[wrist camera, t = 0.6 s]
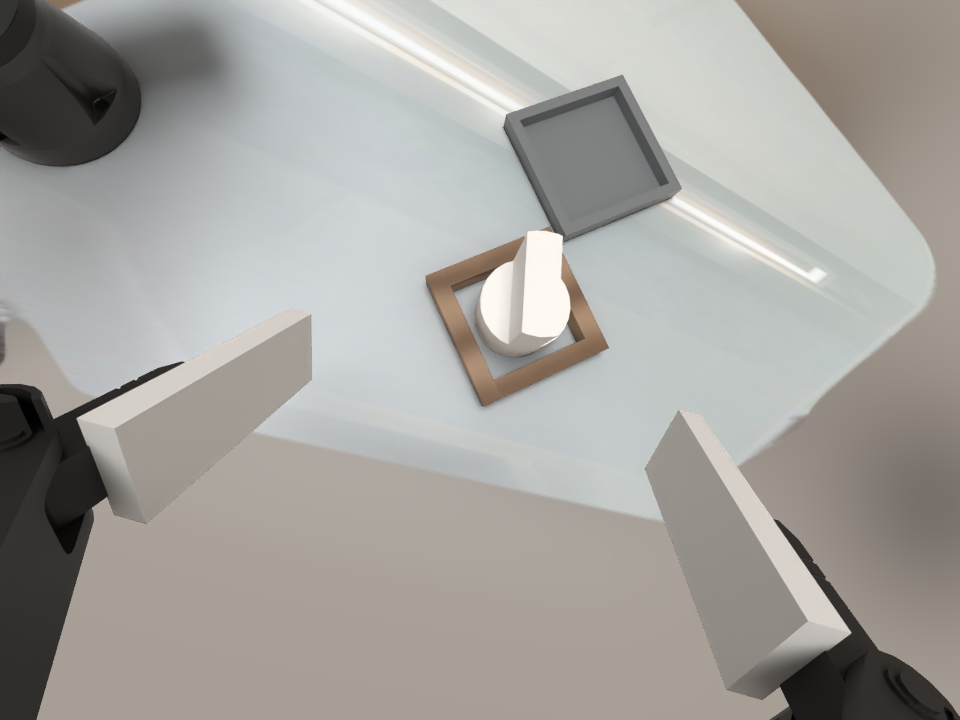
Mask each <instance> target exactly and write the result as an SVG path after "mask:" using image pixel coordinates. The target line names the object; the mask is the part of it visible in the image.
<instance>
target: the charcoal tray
mask: <svg viewBox="0 0 960 720" xmlns="http://www.w3.org/2000/svg"><path fill="white" fill-rule="evenodd" d="M504 129H505V131H506V134H507V136H508V138H509V140H510V142H511V144H512V146H513V148H514V150H515V152H516V154H517V156H518V158H519V160H520V162H521V164H522V166H523V168H524V170H525V172H526V175H527V177H528V179H529V181H530V183H531V185H532V187H533V189H534V191H535V193H536V195H537V197H538V199H539V201H540V203H541V205H542V207H543V209H544V211H545V213H546V215H547V218H548V220H549V222H550V224H551V226H552V228H553V230H554V232H555V233H556V234H560V235H562V236H563V242H565V241H567V240H570V239H572V238H575V237H577V236H580V235H582V234H584V233H587V232H589V231H592V230H594V229H597V228H599V227H602V226H604V225H606V224H609V223H611V222H614V221H616V220H619V219H621V218H624V217H626V216H628V215H631V214H633V213H636V212H638V211H641V210H643V209H646V208H648V207H651V206H653V205H655V204H658V203H660V202H663V201H665V200H668V199H670V198H672V197H673V196H674V195H675V194H676V193H677V192H679V191H680V190H681V189H682V188H681V186H680V184H679V182H678V180H677V178H676V176H675V174H674V172H673V170H672V168H671V166H670V165H669V163H668V161H667V159H666V157H665V155H664V153H663V151H662V149H661V147H660V145H659V143H658V141H657V140H656V138H655V136H654V134H653V132H652V130H651V128H650V126H649V124H648V122H647V120H646V118H645V117H644V115H643V113H642V111H641V109H640V107H639V105H638V103H637V101H636V99H635V97H634V95H633V94H632V92H631V90H630V88H629V86H628V84H627V82H626V80H625V78H624V76H623V75H621V76H618V77H615V78H612V79H609V80H606V81H603V82H600V83H597V84H594V85H591V86H588V87H585V88H582V89H579V90H576V91H574V92H571V93H568V94H565V95H562V96H559V97H556V98H553V99H550V100H547V101H544V102H541V103H538V104H535V105H532V106H529V107H527V108H524V109H521V110H518V111H515V112H512V113H509V114H506V118H505V123H504Z"/></svg>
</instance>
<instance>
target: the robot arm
mask: <svg viewBox="0 0 960 720" xmlns="http://www.w3.org/2000/svg"><path fill="white" fill-rule="evenodd" d="M139 109H140V91H139V86H138V83H137V80H136V78H135V76H134V74H133V72H132V71H131V69H130V68H129V67H128V65H127V64H126V63H125V62H124V61H123V60H122V59H121V58H120V56H119V55H118V54H117V53H116V52H115V51H114V50H113V49H112V48H111V47H110V46H109V45H108V44H107V43H106V42H105V41H104V40H103V39H102V38H100V37H99V36H98V35H97V34H95V33H94V32H92V31H91V30H89V29H88V28H86V27H85V26H83V25H82V24H81V23H79V22H78V21H76V20H75V19H73V18H72V17H70V16H69V15H67V14H66V13H64V12H63V11H62V10H60V9H59V8H57V7H56V6H54V5H53V4H51V3H50V2H48V1H47V0H0V146H1V147H3V148H4V149H6V150H8V151H10V152H11V153H13V154H15V155H17V156H19V157H21V158H23V159H25V160H28V161H31V162H35V163H39V164H44V165H55V166H64V165H73V164H79V163H83V162H87V161H90V160H93V159H95V158H98V157H100V156H102V155H104V154H105V153H107V152H109V151H110V150H112V149H113V148H115V147H116V146H117V145H118V144H119V143H120V142H122V141H123V139H124V138H125V137H126V136H127V135H128V134H129V132H130V131H131V129H132V128H133V126H134V124H135V122H136V119H137V117H138V113H139ZM311 380H312V347H311V314H310V313H306V312H302V311H298V310H294V309H289V310H287V311H285V312H283V313H281V314H279V315H277V316H275V317H273V318H271V319H269V320H267V321H265V322H263V323H261V324H259V325H257V326H255V327H254V328H252V329H250V330H248V331H246V332H244V333H242V334H240V335H238V336H236V337H234V338H232V339H230V340H228V341H226V342H224V343H222V344H220V345H218V346H216V347H214V348H212V349H211V350H209V351H207V352H205V353H203V354H201V355H199V356H197V357H195V358H193V359H191V360H189V361H187V362H179V363H175V364H171V365H168V366H164V367H160V368H157V369H155V370H153V371H151V372H149V373H147V374H145V375H143V376H141V377H139V378H138V379H137V380H133V381H131V382H129V383H127V384H125V385H123V386H121V388H120V389H114V390H112V391H110V392H108V393H106V394H104V395H102V396H100V397H98V398H96V399H94V400H92V401H90V402H88V403H86V404H84V405H82V406H80V407H78V408H76V409H74V410H72V411H70V412H68V413H65V414H64V415H62V416H59V417H57V418H55V419H53V417H52V415H51V412H50V410H49V408H48V405H47V403H46V401H45V398H44V396H43V394H42V392H41V391H40V390H38V389H37V388H35V387H33V386H28V385H22V384H1V385H0V720H36V719H37V716H38V712H39V709H40V705H41V702H42V698H43V695H44V691H45V688H46V684H47V681H48V677H49V674H50V671H51V667H52V664H53V660H54V656H55V653H56V650H57V646H58V643H59V639H60V636H61V632H62V629H63V625H64V622H65V618H66V615H67V612H68V608H69V604H70V601H71V597H72V594H73V591H74V587H75V584H76V580H77V577H78V573H79V570H80V566H81V563H82V560H83V556H84V553H85V549H86V546H87V542H88V539H89V535H90V532H91V528H92V525H93V521H94V515H93V510H92V507H93V506H95V505H96V504H98V503H99V502H100V501H102V500H103V499H104V498H106V497H107V498H108V500H109V503H110V505H111V508H112V510H113V513H114V515H117V516H120V517H124V518H127V519H131V520H134V521H137V522H141V523H144V524H146V523H148V522H149V521H150V520H151V519H152V518H153V517H155V516H156V515H157V514H158V513H159V512H160V511H161V510H163V509H164V508H165V507H166V506H167V505H168V504H169V503H171V502H172V501H173V500H174V499H175V498H176V497H178V496H179V495H180V494H181V493H182V492H183V491H184V490H186V489H187V488H188V487H189V486H190V485H191V484H192V483H194V482H195V481H196V480H197V479H198V478H199V477H200V476H202V475H203V474H204V473H205V472H206V471H207V470H209V469H210V468H211V467H212V466H213V465H214V464H215V463H216V462H218V461H219V460H220V459H221V458H222V457H223V456H225V454H227V453H228V452H229V451H230V450H231V449H233V448H234V447H235V446H236V445H237V444H238V443H240V442H241V441H242V440H243V439H244V438H245V437H246V436H247V435H249V434H250V433H251V432H252V431H253V430H254V429H256V428H257V427H258V426H259V425H260V424H261V423H262V422H264V421H265V420H266V419H267V418H268V417H269V416H270V415H272V414H273V413H274V412H275V411H276V410H277V409H279V408H280V407H281V406H282V405H283V404H284V403H285V402H287V401H288V400H289V399H290V398H291V397H292V396H293V395H295V394H296V393H297V392H298V391H299V390H300V389H301V388H303V387H304V386H305V385H306V384H307V383H308V382H309V381H311ZM645 470H646V473H647V476H648V478H649V481H650V484H651V487H652V489H653V492H654V495H655V497H656V500H657V503H658V506H659V508H660V511H661V514H662V517H663V519H664V522H665V524H666V527H667V530H668V533H669V536H670V538H671V541H672V544H673V546H674V549H675V552H676V555H677V557H678V560H679V563H680V565H681V568H682V571H683V573H684V576H685V579H686V582H687V584H688V587H689V590H690V592H691V595H692V598H693V600H694V603H695V606H696V609H697V612H698V614H699V617H700V620H701V622H702V625H703V628H704V630H705V633H706V636H707V638H708V641H709V644H710V647H711V649H712V652H713V655H714V658H715V660H716V663H717V666H718V669H719V671H720V674H721V677H722V679H723V682H724V685H725V688H726V690H729V691H732V692H736V693H740V694H743V695H747V696H750V697H753V698H757V699H761V700H763V699H764V698H766V697H767V696H768V695H769V694H771V693H772V692H773V691H775V690H776V689H777V688H779V687H781V689H782V692H783V693H784V696H785V698H786V700H787V702H788V704H789V707H788V708H786V709H785V710H783V711H782V712H780V713H779V714H777V715H776V716H774V717H773V718H772V719H770V720H960V717H959V715H958V714H957V713H956V711H955V710H954V708H953V707H952V705H951V704H950V703H949V701H948V700H947V699H946V698H945V697H944V696H943V695H942V694H941V693H940V692H939V691H938V690H937V689H936V688H935V687H934V686H933V685H932V684H931V683H930V682H929V681H928V680H927V679H925V678H924V677H923V676H922V675H921V674H919V673H918V672H917V671H916V670H914V669H913V668H912V667H910V666H909V665H907V664H906V663H904V662H902V661H901V660H899V659H898V658H896V657H894V656H892V655H890V654H887V653H884V652H882V651H879V650H878V649H877V647H876V646H875V644H874V643H873V642H872V640H871V639H870V638H869V636H868V635H867V634H866V632H865V631H864V629H863V628H862V627H861V625H860V624H859V622H858V621H857V620H856V618H855V617H854V616H853V614H852V613H851V612H850V610H849V609H848V607H847V606H846V604H845V603H844V602H843V600H842V599H841V598H840V597H839V595H838V593H837V592H836V591H835V589H834V588H833V586H832V585H831V584H830V582H828V581H826V580H825V578H826V577H825V576H824V574H823V573H822V571H821V570H820V569H819V567H818V566H817V565H816V564H814V563H813V559H812V557H811V556H810V555H809V553H808V552H807V551H806V549H805V548H804V546H803V545H802V544H801V542H800V541H799V540H798V539H797V538H796V537H795V536H794V535H793V534H792V533H791V532H790V531H789V530H788V529H787V528H786V527H785V526H784V525H783V524H782V523H780V521H778V520H774V519H772V517H771V516H770V514H769V513H768V512H767V510H766V509H765V507H764V506H763V504H762V503H761V501H760V500H759V498H758V497H757V496H756V494H755V493H754V491H753V490H752V489H751V487H750V485H749V484H748V483H747V481H746V480H745V478H744V477H743V475H742V474H741V473H740V471H739V470H738V468H737V467H736V465H735V464H734V462H733V461H732V459H731V458H730V457H729V455H728V454H727V452H726V451H725V449H724V448H723V446H722V445H721V444H720V442H719V441H718V439H717V438H716V436H715V435H714V433H713V432H712V430H711V429H710V428H709V426H708V425H707V423H706V422H705V420H704V419H703V417H702V416H701V415H697V414H693V413H689V412H686V411H682V410H678V412H677V414H676V416H675V417H674V419H673V421H672V423H671V424H670V426H669V428H668V429H667V431H666V433H665V435H664V436H663V438H662V440H661V441H660V443H659V445H658V447H657V448H656V450H655V452H654V453H653V455H652V457H651V459H650V460H649V462H648V464H647V466H646V467H645Z"/></svg>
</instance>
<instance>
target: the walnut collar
mask: <svg viewBox="0 0 960 720" xmlns="http://www.w3.org/2000/svg"><path fill="white" fill-rule="evenodd" d="M540 231H548V232H552V230H551V228H550V227H547V228H545V229H542V230H540ZM552 233H553V232H552ZM524 238H525V236H524V237H522V238H519V239H517V240H514V241H512V242H509V243H507V244H504V245H502V246H499V247H497V248H494V249H492V250H489V251H487V252H484V253H482V254H479V255H477V256H474V257H472V258H469V259H467V260H464V261H462V262H459V263H457V264H454V265H452V266H449V267H447V268H444V269H442V270H439V271H437V272H434V273H432V274H429V275H427V276H426V284H427V286H428V288H429V291H430V293H431V295H432V297H433V299H434V302H435V304H436V306H437V308H438V310H439V313H440V315H441V317H442V319H443V321H444V324H445V326H446V328H447V330H448V332H449V335H450V337H451V339H452V341H453V343H454V346H455V348H456V350H457V352H458V354H459V357H460V359H461V361H462V363H463V365H464V368H465V370H466V372H467V374H468V376H469V379H470V381H471V383H472V385H473V387H474V390H475V392H476V394H477V396H478V398H479V401H480V403H481V405H482V406H486V405H488V404H490V403H492V402H494V401H497V400H499V399H501V398H503V397H505V396H507V395H509V394H512V393H514V392H516V391H518V390H520V389H522V388H524V387H527V386H529V385H531V384H533V383H535V382H537V381H539V380H542V379H544V378H546V377H548V376H550V375H552V374H554V373H557V372H559V371H561V370H563V369H565V368H567V367H569V366H572V365H574V364H576V363H578V362H580V361H582V360H584V359H586V358H589V357H591V356H593V355H595V354H597V353H599V352H601V351H604V350H606V349H608V348H609V347H608V345H607V343H606V341H605V338H604V336H603V334H602V332H601V330H600V328H599V326H598V324H597V322H596V320H595V318H594V316H593V314H592V312H591V310H590V308H589V306H588V304H587V302H586V300H585V297H584V295H583V293H582V291H581V289H580V287H579V285H578V283H577V281H576V279H575V277H574V275H573V273H572V271H571V269H570V267H569V265H568V263H567V261H566V259H565V256H564V254H563V252H562V267H561V279H562V281H563V282H564V284H565V285H566V288H567V291H568V294H569V296H570V307H571V308H570V314H569V320H568V322H567V323H568V325H569V328H570V330H571V332H572V334H573V336H574V338H575V340H576V342H577V343H574V344H572V345H570V346H568V347H566V348H564V349H561V350H559V351H557V352H555V353H553V354H550V355H548V356H546V357H544V358H542V359H540V360H537V361H535V362H533V363H531V364H529V365H526V366H524V367H522V368H520V369H518V370H515V371H513V372H511V373H509V374H507V375H505V376H502V377H500V378H498V379H496V380H494V379H493V377H492V375H491V373H490V371H489V368H488V366H487V364H486V362H485V360H484V358H483V355H482V353H481V351H480V349H479V347H478V345H477V342H476V340H475V338H474V336H473V334H472V331H471V329H470V327H469V325H468V323H467V321H466V318H465V316H464V314H463V312H462V310H461V308H460V305H459V303H458V301H457V299H456V297H455V294H454V291H456V290H459V289H461V288H464V287H466V286H469V285H471V284H473V283H476V282H478V281H481V280H483V279H486V278H488V277H489V276H490V275H491V274H492V272H493V271H494V270H495V269H497V268H498V267H500V266H502V265H503V264H505V263H507V262H511V261H513V260H514V258H515V256H516V254H517V252H518V250H519V248H520V246H521V244H522V242H523V240H524Z"/></svg>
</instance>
